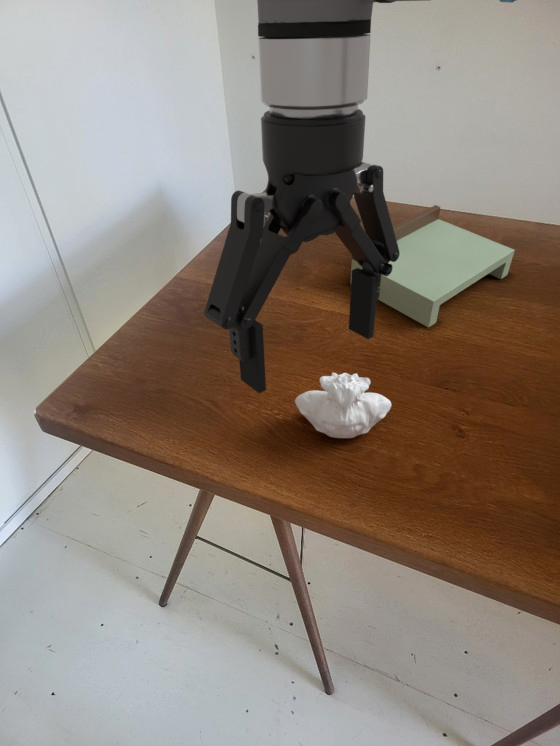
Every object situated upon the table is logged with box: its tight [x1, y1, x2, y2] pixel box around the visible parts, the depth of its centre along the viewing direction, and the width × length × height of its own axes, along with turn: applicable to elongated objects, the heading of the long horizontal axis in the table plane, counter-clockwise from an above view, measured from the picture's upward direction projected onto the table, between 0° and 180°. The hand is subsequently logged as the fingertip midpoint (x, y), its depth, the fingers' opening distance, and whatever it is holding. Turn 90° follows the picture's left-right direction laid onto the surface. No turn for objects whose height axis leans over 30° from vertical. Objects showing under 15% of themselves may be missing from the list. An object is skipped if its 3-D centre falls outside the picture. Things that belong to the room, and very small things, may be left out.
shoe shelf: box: [350, 204, 516, 328], centre depth 89 cm, size 17×22×7 cm
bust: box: [294, 372, 392, 439], centre depth 64 cm, size 12×8×11 cm
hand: (310, 357), depth 49 cm, fingers open, 13 cm apart
